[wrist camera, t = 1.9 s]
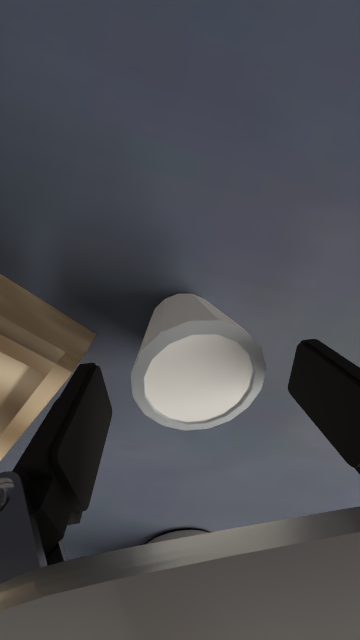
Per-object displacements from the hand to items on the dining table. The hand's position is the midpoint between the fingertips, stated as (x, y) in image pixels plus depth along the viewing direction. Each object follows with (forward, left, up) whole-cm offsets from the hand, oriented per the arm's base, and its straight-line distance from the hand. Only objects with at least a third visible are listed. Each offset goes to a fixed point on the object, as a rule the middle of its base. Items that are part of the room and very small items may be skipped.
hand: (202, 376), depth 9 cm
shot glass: (0, 0, -7) cm, 7 cm away
